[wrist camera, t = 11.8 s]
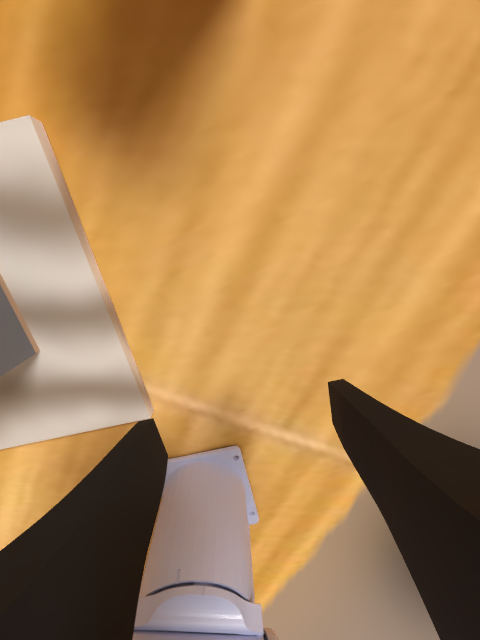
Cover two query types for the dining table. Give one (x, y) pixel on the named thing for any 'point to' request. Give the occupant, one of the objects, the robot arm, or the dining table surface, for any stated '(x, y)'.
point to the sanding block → (13, 333)
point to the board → (57, 305)
